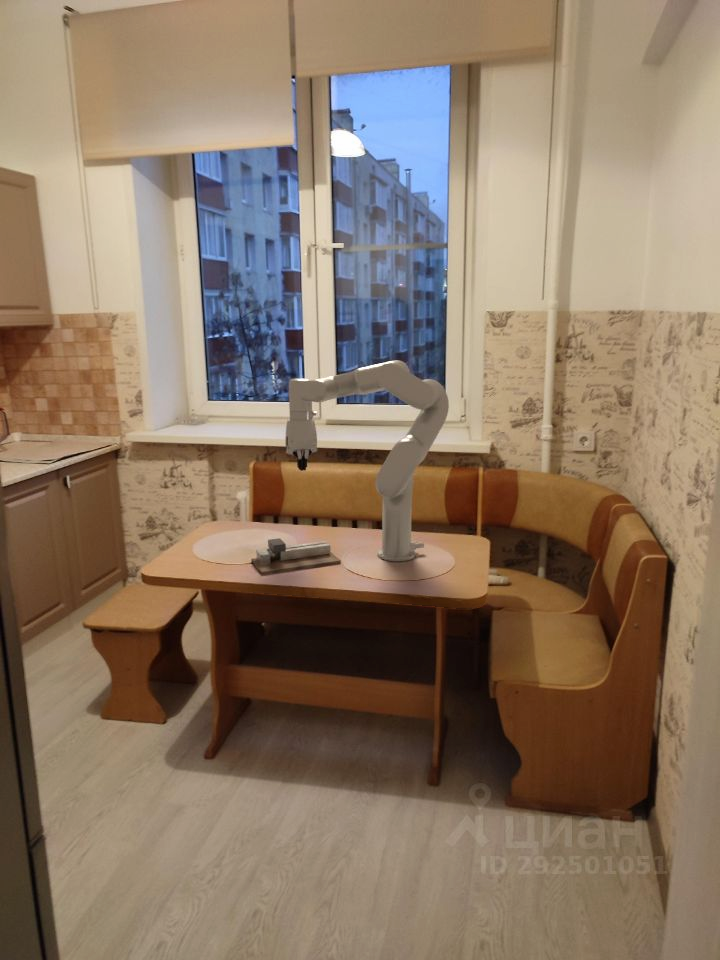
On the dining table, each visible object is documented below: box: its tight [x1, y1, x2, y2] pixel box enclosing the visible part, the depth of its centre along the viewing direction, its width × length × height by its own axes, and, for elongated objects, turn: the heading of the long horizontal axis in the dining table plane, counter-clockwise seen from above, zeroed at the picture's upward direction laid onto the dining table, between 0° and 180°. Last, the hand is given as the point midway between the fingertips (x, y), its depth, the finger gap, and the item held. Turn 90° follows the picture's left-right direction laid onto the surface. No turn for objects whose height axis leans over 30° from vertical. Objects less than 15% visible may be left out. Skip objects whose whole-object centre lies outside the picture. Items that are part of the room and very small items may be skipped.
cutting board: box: [251, 551, 342, 576], centre depth 216 cm, size 26×13×1 cm, turn 113°
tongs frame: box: [255, 540, 328, 565], centre depth 217 cm, size 24×6×3 cm, turn 113°
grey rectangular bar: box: [269, 542, 332, 561], centre depth 218 cm, size 20×4×3 cm, turn 114°
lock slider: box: [267, 538, 287, 553], centre depth 215 cm, size 4×6×2 cm, turn 23°
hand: (302, 469), depth 226 cm, fingers closed
